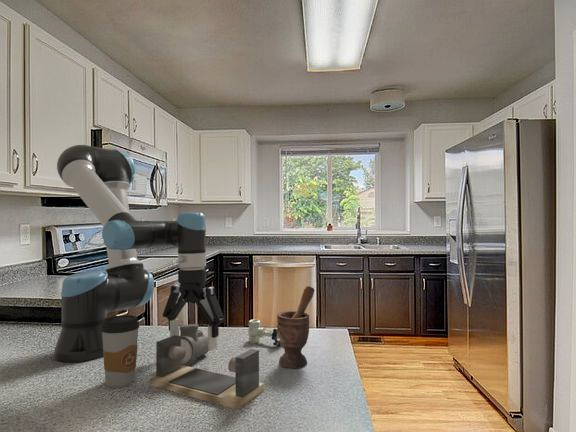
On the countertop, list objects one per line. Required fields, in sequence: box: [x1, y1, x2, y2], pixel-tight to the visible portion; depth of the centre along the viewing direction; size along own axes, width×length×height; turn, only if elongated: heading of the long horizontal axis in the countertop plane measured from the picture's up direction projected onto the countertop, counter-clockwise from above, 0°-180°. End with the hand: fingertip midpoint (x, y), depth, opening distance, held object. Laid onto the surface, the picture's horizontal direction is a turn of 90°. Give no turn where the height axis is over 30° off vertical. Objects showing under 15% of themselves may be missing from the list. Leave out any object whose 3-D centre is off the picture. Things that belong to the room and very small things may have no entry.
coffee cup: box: [101, 314, 140, 389], centre depth 90 cm, size 8×8×15 cm
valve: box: [247, 319, 282, 348], centre depth 119 cm, size 7×7×12 cm
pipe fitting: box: [179, 323, 209, 367], centre depth 105 cm, size 12×8×10 cm
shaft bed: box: [149, 335, 265, 410], centre depth 87 cm, size 25×10×10 cm, turn 62°
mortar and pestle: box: [276, 285, 315, 369], centre depth 103 cm, size 12×9×20 cm
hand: (193, 346), depth 104 cm, fingers open, 13 cm apart
